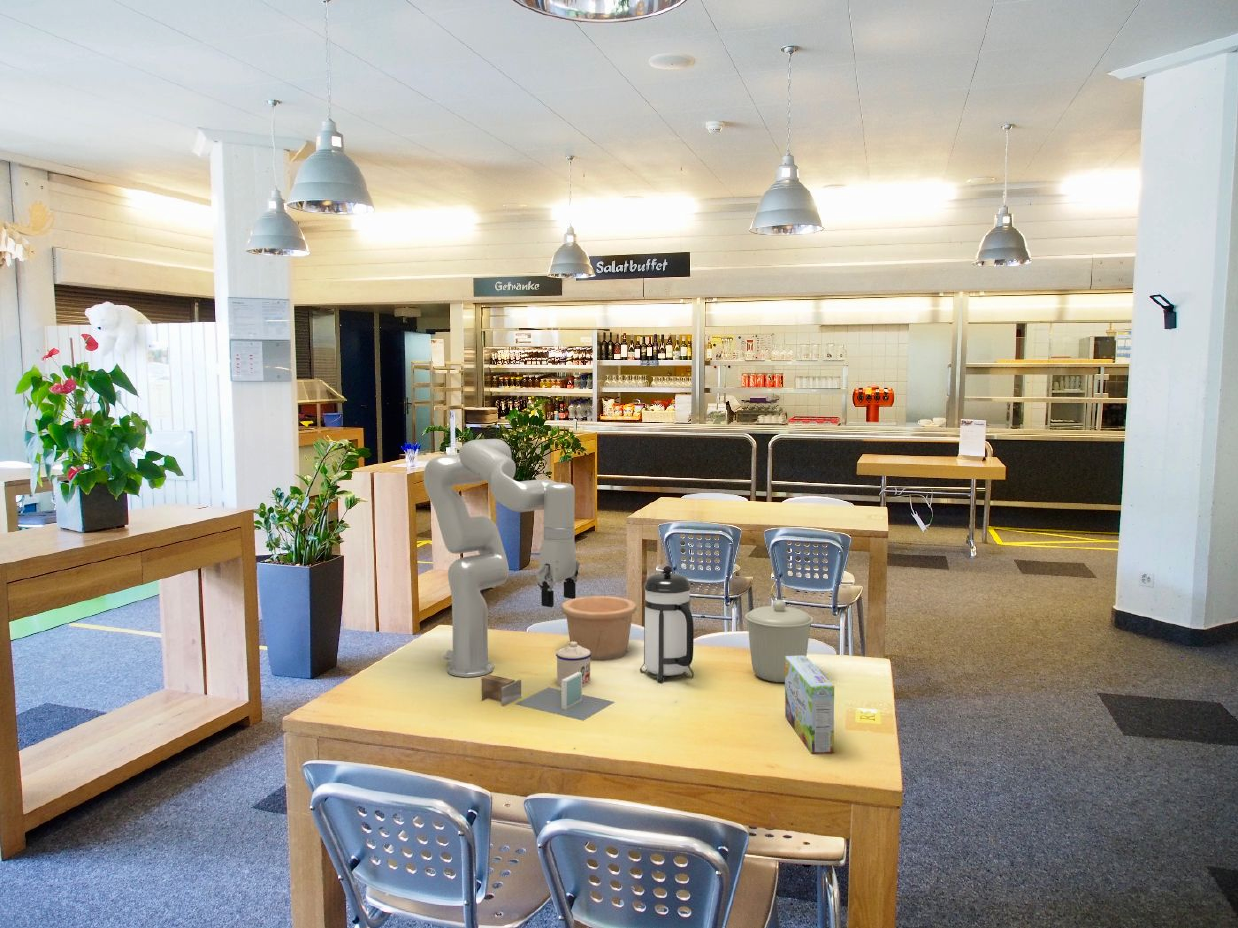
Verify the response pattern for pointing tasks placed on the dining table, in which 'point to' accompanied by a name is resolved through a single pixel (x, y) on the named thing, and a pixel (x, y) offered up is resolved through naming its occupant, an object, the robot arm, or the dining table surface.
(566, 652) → the teacup with lid
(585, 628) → the pottery
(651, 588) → the coffee press
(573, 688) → the tile
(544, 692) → the slate board
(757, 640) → the canister
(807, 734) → the snack box
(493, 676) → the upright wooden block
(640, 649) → the dining table surface
